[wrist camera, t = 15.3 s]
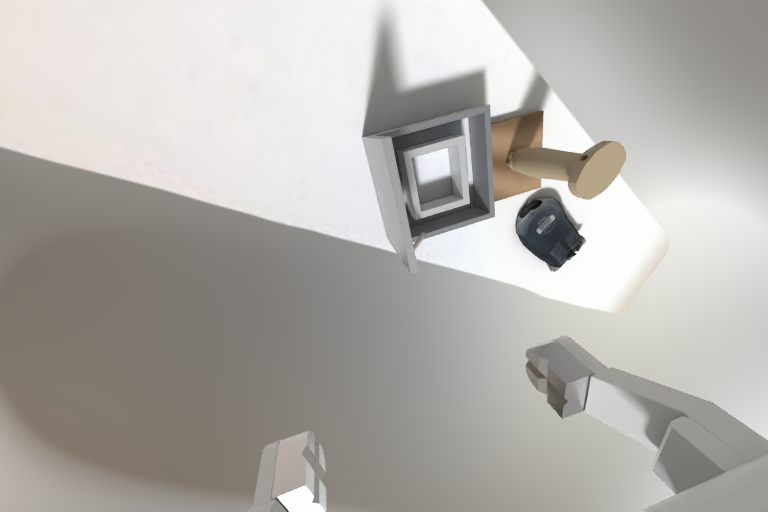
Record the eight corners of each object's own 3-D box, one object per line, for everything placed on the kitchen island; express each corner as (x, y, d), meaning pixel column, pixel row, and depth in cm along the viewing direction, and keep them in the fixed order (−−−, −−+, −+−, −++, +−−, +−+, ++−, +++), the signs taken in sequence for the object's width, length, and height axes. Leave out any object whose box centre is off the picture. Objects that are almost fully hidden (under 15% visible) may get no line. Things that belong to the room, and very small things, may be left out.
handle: (536, 151, 44) (632, 159, 30) (509, 184, 45) (590, 206, 32) (519, 131, 42) (613, 132, 28) (491, 167, 43) (569, 183, 30)
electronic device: (572, 227, 56) (543, 185, 47) (595, 242, 51) (567, 198, 43) (535, 258, 58) (501, 223, 50) (553, 274, 54) (520, 239, 46)
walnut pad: (480, 127, 41) (483, 127, 40) (538, 111, 42) (543, 110, 41) (484, 202, 47) (487, 203, 46) (536, 186, 48) (540, 187, 47)
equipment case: (362, 137, 38) (381, 139, 27) (472, 107, 40) (536, 97, 28) (387, 238, 45) (411, 274, 34) (479, 209, 47) (532, 234, 35)
